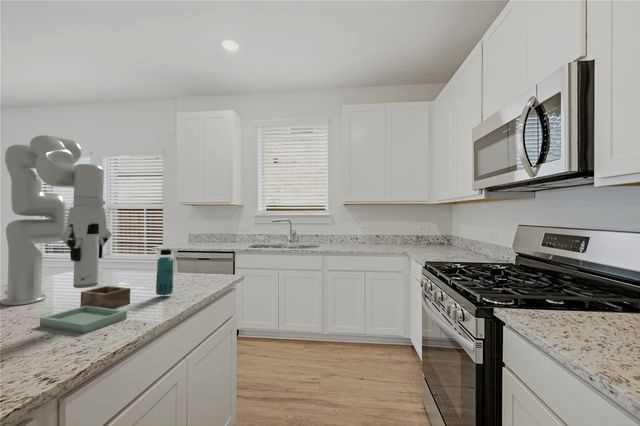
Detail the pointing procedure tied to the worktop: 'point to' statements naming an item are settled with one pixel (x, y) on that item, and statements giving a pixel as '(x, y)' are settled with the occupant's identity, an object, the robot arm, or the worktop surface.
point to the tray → (83, 319)
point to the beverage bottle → (164, 274)
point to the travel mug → (88, 260)
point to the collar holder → (106, 297)
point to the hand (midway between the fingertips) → (86, 258)
